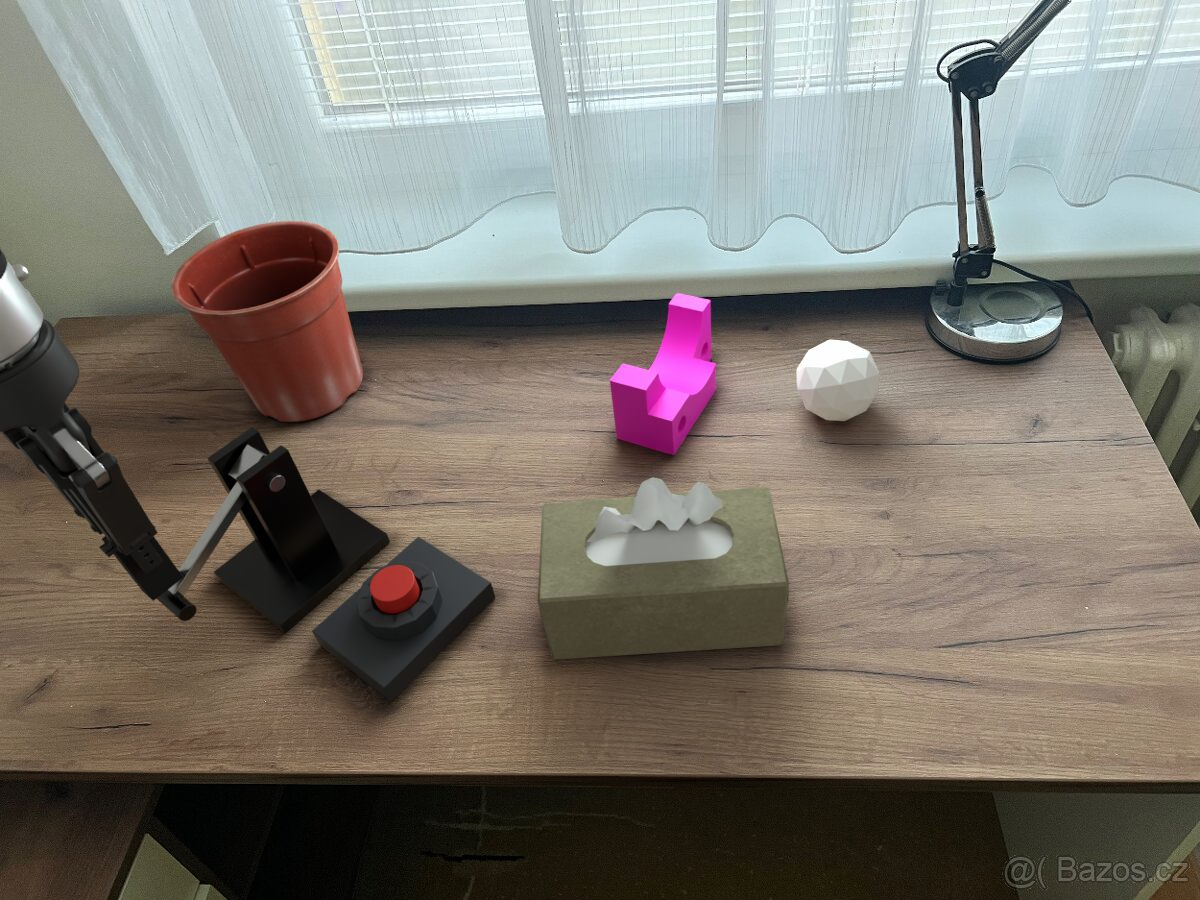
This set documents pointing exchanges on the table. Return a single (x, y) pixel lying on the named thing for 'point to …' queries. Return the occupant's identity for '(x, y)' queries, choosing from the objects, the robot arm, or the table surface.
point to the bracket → (289, 536)
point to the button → (394, 589)
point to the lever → (209, 539)
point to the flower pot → (276, 316)
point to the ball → (837, 380)
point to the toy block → (668, 381)
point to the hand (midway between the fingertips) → (163, 584)
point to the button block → (405, 620)
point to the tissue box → (662, 572)
